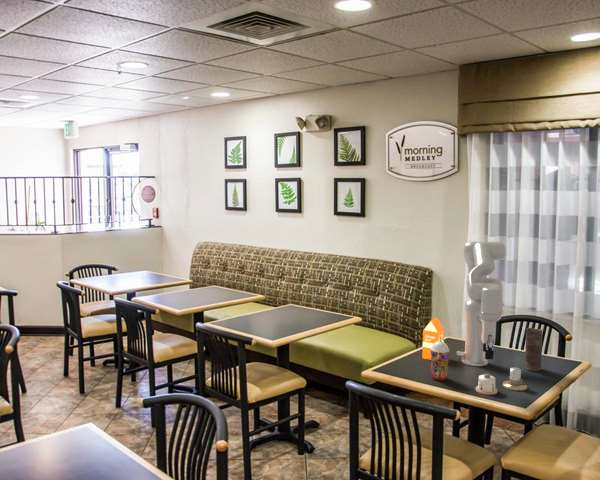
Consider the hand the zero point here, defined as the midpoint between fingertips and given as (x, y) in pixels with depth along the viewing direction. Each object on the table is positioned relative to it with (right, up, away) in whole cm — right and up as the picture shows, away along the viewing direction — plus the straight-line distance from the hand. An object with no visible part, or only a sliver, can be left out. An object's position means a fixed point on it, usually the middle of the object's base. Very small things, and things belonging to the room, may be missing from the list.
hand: (487, 355), depth 238 cm
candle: (+31, -13, +30) cm, 45 cm away
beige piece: (+14, -15, +6) cm, 22 cm away
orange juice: (-13, -11, +46) cm, 49 cm away
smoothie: (-17, -14, +16) cm, 27 cm away
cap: (0, -15, +2) cm, 15 cm away
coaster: (0, -16, +1) cm, 16 cm away
